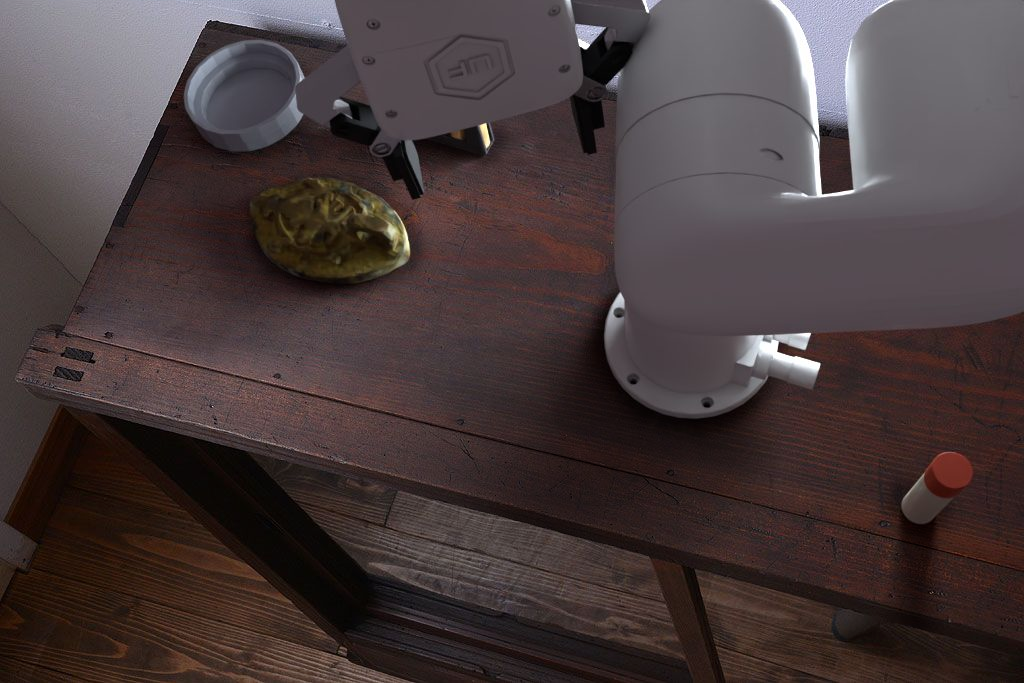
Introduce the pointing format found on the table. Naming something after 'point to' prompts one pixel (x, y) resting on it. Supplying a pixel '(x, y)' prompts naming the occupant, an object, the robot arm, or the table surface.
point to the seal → (329, 231)
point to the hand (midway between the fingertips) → (499, 156)
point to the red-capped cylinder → (937, 487)
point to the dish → (244, 95)
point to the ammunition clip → (468, 139)
